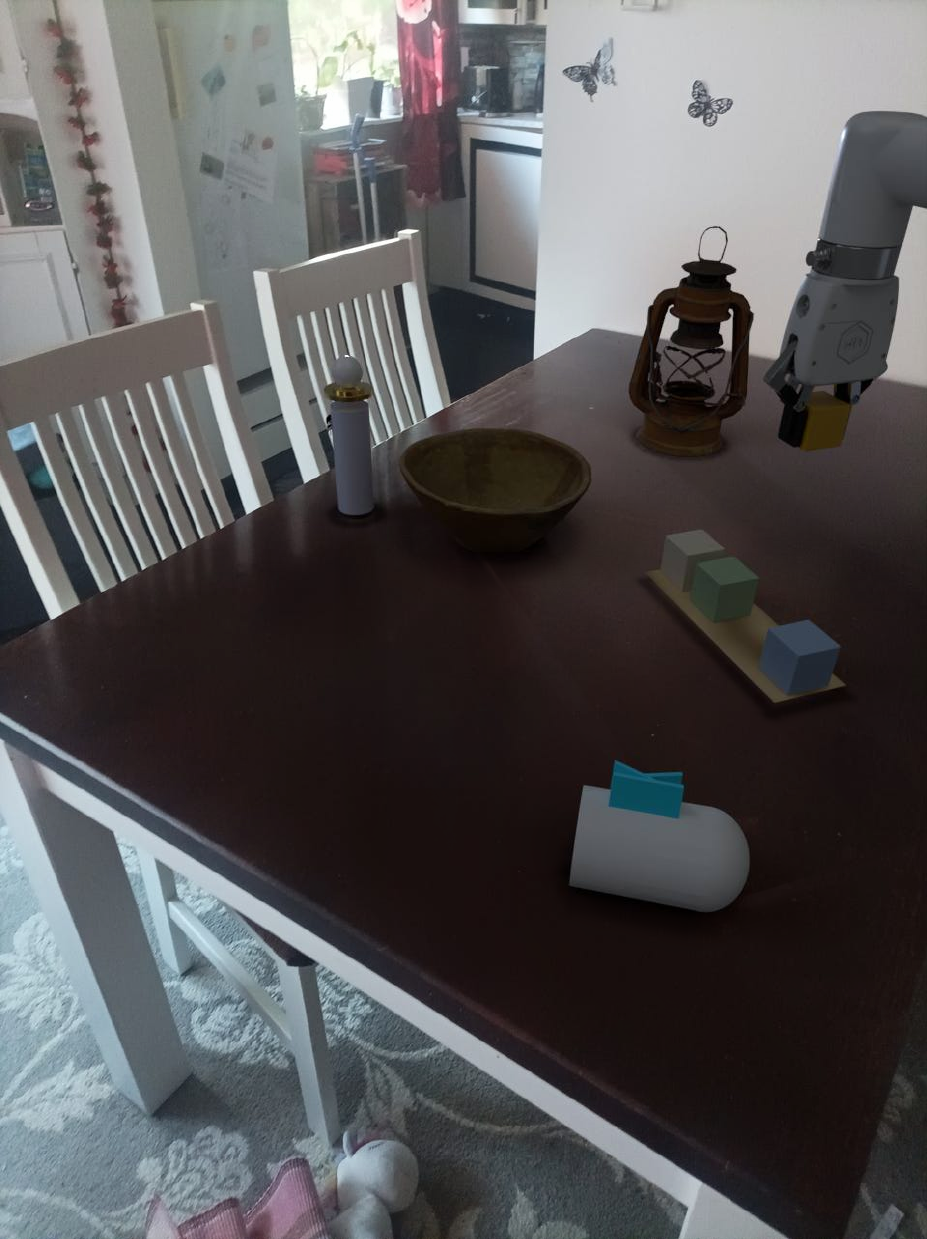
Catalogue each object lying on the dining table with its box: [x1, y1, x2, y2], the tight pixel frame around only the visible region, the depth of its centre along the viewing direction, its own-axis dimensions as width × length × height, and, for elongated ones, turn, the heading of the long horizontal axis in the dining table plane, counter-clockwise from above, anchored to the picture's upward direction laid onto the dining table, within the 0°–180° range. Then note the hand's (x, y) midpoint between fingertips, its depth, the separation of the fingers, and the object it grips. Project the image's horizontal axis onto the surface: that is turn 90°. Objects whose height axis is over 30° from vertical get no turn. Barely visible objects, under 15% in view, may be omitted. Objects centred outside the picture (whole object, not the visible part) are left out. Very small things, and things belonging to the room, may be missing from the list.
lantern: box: [628, 225, 755, 458], centre depth 123 cm, size 17×13×30 cm
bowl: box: [398, 427, 592, 555], centre depth 103 cm, size 22×23×10 cm
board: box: [644, 568, 847, 704], centre depth 90 cm, size 8×24×1 cm, turn 19°
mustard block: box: [797, 390, 853, 453], centre depth 92 cm, size 5×5×5 cm
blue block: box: [758, 619, 842, 696], centre depth 81 cm, size 5×5×5 cm
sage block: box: [690, 556, 760, 623], centre depth 91 cm, size 5×5×5 cm
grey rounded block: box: [568, 759, 751, 913], centre depth 64 cm, size 12×9×12 cm
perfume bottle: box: [323, 355, 375, 516], centre depth 105 cm, size 6×6×20 cm
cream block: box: [660, 529, 726, 592], centre depth 95 cm, size 5×5×5 cm
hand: (810, 438), depth 93 cm, fingers closed on mustard block, 4 cm apart
